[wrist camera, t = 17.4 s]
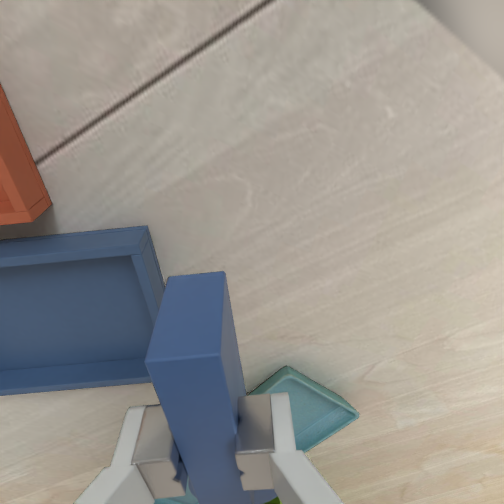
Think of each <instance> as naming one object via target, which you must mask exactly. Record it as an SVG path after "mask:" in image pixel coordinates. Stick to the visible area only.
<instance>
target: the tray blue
mask: <svg viewBox="0 0 504 504" xmlns="http://www.w3.org/2000/svg"><path fill="white" fill-rule="evenodd" d="M164 291H165V285H164V282H163V278H162V275H161V271H160V268H159V264H158V261H157V257H156V254H155V250H154V247H153V243H152V240H151V236H150V232H149V229H148V226H137V227H127V228H117V229H107V230H97V231H87V232H77V233H67V234H57V235H47V236H36V237H26V238H16V239H6V240H0V396H4V395H16V394H27V393H38V392H49V391H61V390H72V389H83V388H94V387H106V386H117V385H128V384H139V383H151V382H152V380H151V378H150V375H149V373H148V370H147V367H146V365H145V362H144V361H145V357H146V354H147V350H148V347H149V343H150V340H151V336H152V333H153V329H154V326H155V322H156V319H157V315H158V312H159V308H160V305H161V301H162V298H163V294H164Z"/></svg>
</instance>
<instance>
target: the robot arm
mask: <svg viewBox="0 0 504 504" xmlns="http://www.w3.org/2000/svg"><path fill="white" fill-rule="evenodd" d="M270 398H271V399H270ZM237 415H238V420H239V423H238V424H237V433H236V434H235V458H236V462H237V467H238V469H239V470H240V479H241V483H242V487H243V491H245V490H263V489H274V491H275V492H276V494H277V496H278V497H279V499H280V501H281V502H282V504H344V503H343V502H342V500H341V499H340V498H339V497H338V495H337V494H336V493H335V491H334V490H333V489H332V488H331V486H330V485H329V484H328V483H327V481H326V480H325V479H324V478H323V476H322V475H321V474H320V472H319V471H318V470H317V469H316V467H315V466H314V465H313V464H312V462H311V461H310V460H309V459H308V457H307V456H306V455H305V454H304V452H303V451H302V450H296V444H295V437H294V430H293V423H292V415H291V408H290V401H289V395H288V392H283V393H274V394H270V393H268V394H259V395H250V396H241V397H238V401H237ZM187 478H188V474H187V471H186V469H185V466H184V463H183V461H182V458H181V456H180V453H179V451H178V448H177V445H176V443H175V440H174V438H173V435H172V432H171V430H170V427H169V425H168V422H167V419H166V417H165V414H164V412H163V409H162V406H161V404H158V405H143V406H133V407H129V409H128V410H127V412H126V414H125V418H124V421H123V424H122V428H121V431H120V434H119V438H118V441H117V444H116V448H115V451H114V454H113V458H112V461H111V464H110V467H104V468H103V470H102V471H101V472H100V473H99V474H98V475H97V477H96V478H95V479H94V480H93V481H92V482H91V483H90V485H89V486H88V487H87V488H86V489H85V490H84V491H83V493H82V494H81V495H80V496H79V497H78V498H77V499H76V501H75V502H74V503H73V504H154V502H155V500H154V499H160V498H169V497H177V496H185V494H186V486H187Z"/></svg>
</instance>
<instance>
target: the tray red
mask: <svg viewBox="0 0 504 504" xmlns="http://www.w3.org/2000/svg"><path fill="white" fill-rule="evenodd" d="M51 204H52V203H51V200H50V198H49V196H48V193H47V191H46V189H45V186H44V184H43V182H42V179H41V177H40V175H39V172H38V170H37V168H36V165H35V163H34V161H33V159H32V156H31V154H30V152H29V149H28V147H27V145H26V142H25V140H24V138H23V135H22V133H21V131H20V128H19V126H18V124H17V121H16V119H15V117H14V114H13V112H12V110H11V107H10V105H9V103H8V100H7V98H6V96H5V94H4V91H3V89H2V87H1V84H0V225H7V224H17V223H27V222H33V221H34V220H35V219H36V218H37V217H38V216H40V215H41V214H42V213H43V212H44V211H45V210H46V209H47V208H48V207H49V206H50V205H51Z"/></svg>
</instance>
